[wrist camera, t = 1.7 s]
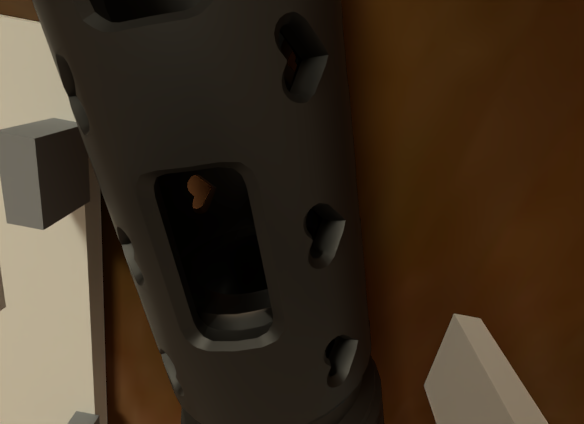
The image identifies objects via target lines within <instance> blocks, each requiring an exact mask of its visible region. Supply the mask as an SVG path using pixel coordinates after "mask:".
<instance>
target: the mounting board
mask: <svg viewBox="0 0 584 424" xmlns="http://www.w3.org/2000/svg"><path fill="white" fill-rule="evenodd" d="M0 267H1V275H2V282H3V289H4V296H5V303H6V307H5V308H4V309H3V310H1V311H0V424H107V395H106V362H105V329H104V296H103V263H102V230H101V197H100V186H99V184H98V181H97V178H96V175H95V173H94V170H93V167H92V164H91V161H90V159H89V156H88V153H87V150H86V148H85V145H84V142H83V139H82V137H81V134H80V131H79V128H78V126H77V123H76V120H75V117H74V115H73V112H72V109H71V106H70V102H69V97H68V95H67V93H66V91H65V89H64V87H63V84H62V81H61V79H60V76H59V73H58V70H57V68H56V65H55V62H54V59H53V57H52V54H51V51H50V48H49V46H48V43H47V40H46V37H45V35H44V32H43V29H42V26H41V24H40V22H37V21H31V20H26V19H21V18H16V17H11V16H5V15H0Z"/></svg>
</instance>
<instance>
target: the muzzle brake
mask: <svg viewBox="0 0 584 424" xmlns="http://www.w3.org/2000/svg"><path fill="white" fill-rule="evenodd" d="M32 1H33V4H34V7H35V10H36V12H37V15H38V18H39V21H40V24H41V26H42V29H43V32H44V35H45V37H46V40H47V43H48V46H49V48H50V51H51V54H52V57H53V59H54V62H55V65H56V68H57V70H58V73H59V76H60V79H61V81H62V84H63V87H64V89H65V91H66V93H67V95H68V97H69V102H70V106H71V109H72V112H73V115H74V117H75V120H76V123H77V126H78V128H79V131H80V134H81V137H82V139H83V142H84V145H85V148H86V150H87V153H88V156H89V159H90V161H91V164H92V167H93V170H94V173H95V175H96V178H97V181H98V184H99V186H100V189H101V192H102V195H103V197H104V200H105V203H106V206H107V208H108V211H109V214H110V217H111V219H112V222H113V225H114V228H115V230H116V233H117V236H118V239H119V241H120V243H121V244H122V248H123V252H124V255H125V258H126V261H127V264H128V266H129V269H130V272H131V275H132V277H133V280H134V283H135V286H136V288H137V291H138V294H139V297H140V299H141V302H142V305H143V308H144V310H145V313H146V316H147V319H148V322H149V324H150V327H151V330H152V333H153V335H154V338H155V341H156V344H157V346H158V349H159V352H160V353H161V355H162V359H163V363H164V366H165V368H166V371H167V374H168V377H169V379H170V382H171V385H172V388H173V390H174V393H175V395H176V397H177V399H178V401H179V403H180V404H181V406H182V413H181V424H384V416H383V404H382V391H381V380H380V377H379V374H378V370H377V367H376V364H375V362H374V360H373V359H372V357H371V355H370V353H371V336H370V325H369V318H368V307H367V296H366V279H365V267H364V256H363V245H362V233H361V222H360V216H359V205H358V194H357V183H356V165H355V153H354V142H353V130H352V119H351V107H350V96H349V85H348V80H347V70H346V57H345V46H344V36H343V24H342V18H343V16H342V4H341V0H32ZM292 50H293V52H294V54H295V55H296V60H295V62H296V64H297V67H296V71H295V72H294V70H292V69H291V68H290V67H289V66H288V65H287V64H286V63H287V59H288V57H289V56H290V54H291V52H292ZM193 175H197V176H198V177H200V178H201V179H203V180H204V181H205V182H207V183H208V184H210V185H211V186H213V187H212V189H211V191H210V192H209V194H208V196H207V198H206V200H205V202H204V204H203V206H202V207H201V208H199V209H194V208H193V207H192V203H193V199H194V196H193V195H192V194H191V193H190V192H189V191H188V188H187V182H188V180H189V179H190V177H191V176H193Z"/></svg>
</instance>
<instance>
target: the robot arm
mask: <svg viewBox="0 0 584 424" xmlns="http://www.w3.org/2000/svg"><path fill="white" fill-rule="evenodd" d="M5 307H6V303H5V296H4V289H3V282H2V275H1V267H0V311H1V310H3V309H4V308H5ZM424 388H425V391H426V394H427V397H428V400H429V403H430V406H431V409H432V412H433V415H434V418H435V421H436V424H548V422H547V421H546V419H545V418H544V416H543V414H542V413H541V411H540V410H539V408H538V407H537V405H536V404H535V402H534V401H533V399H532V397H531V396H530V394H529V393H528V391H527V390H526V388H525V387H524V385H523V383H522V382H521V380H520V379H519V377H518V376H517V374H516V373H515V371H514V370H513V368H512V366H511V365H510V363H509V362H508V360H507V359H506V357H505V356H504V354H503V352H502V351H501V349H500V348H499V346H498V345H497V343H496V342H495V340H494V339H493V337H492V335H491V334H490V332H489V331H488V329H487V328H486V326H485V325H484V323H483V322H482V320H481V319H480V318H475V317H470V316H465V315H459V314H453V317H452V319H451V322H450V324H449V326H448V329H447V331H446V334H445V336H444V338H443V341H442V343H441V345H440V348H439V350H438V353H437V355H436V357H435V360H434V362H433V365H432V367H431V369H430V372H429V374H428V377H427V379H426V381H425V384H424Z"/></svg>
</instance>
